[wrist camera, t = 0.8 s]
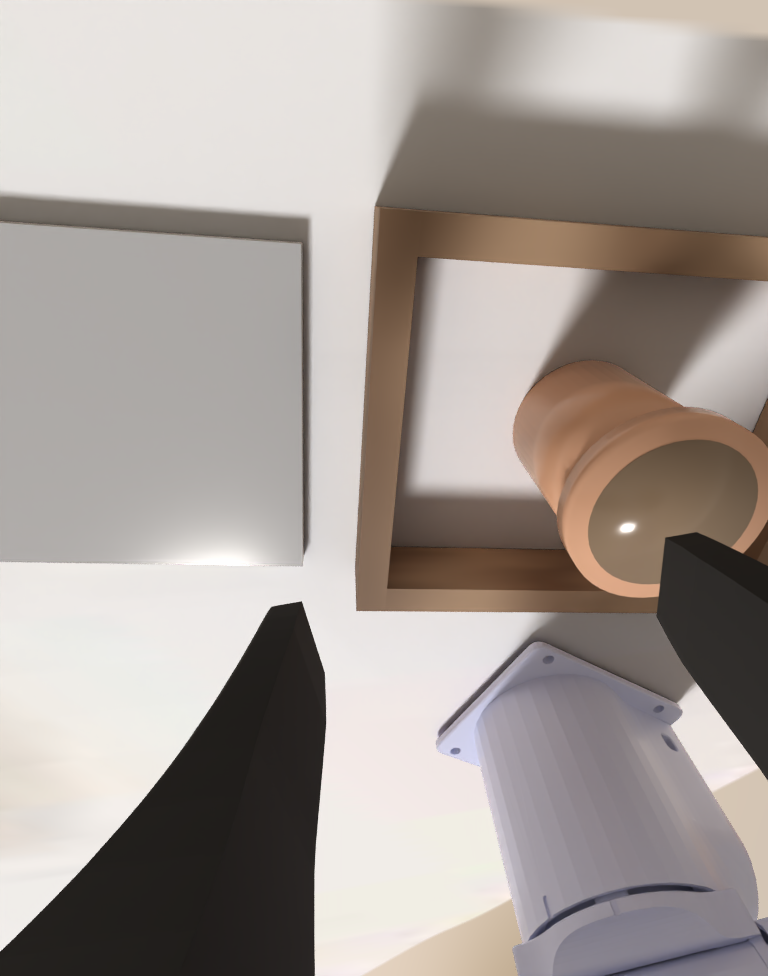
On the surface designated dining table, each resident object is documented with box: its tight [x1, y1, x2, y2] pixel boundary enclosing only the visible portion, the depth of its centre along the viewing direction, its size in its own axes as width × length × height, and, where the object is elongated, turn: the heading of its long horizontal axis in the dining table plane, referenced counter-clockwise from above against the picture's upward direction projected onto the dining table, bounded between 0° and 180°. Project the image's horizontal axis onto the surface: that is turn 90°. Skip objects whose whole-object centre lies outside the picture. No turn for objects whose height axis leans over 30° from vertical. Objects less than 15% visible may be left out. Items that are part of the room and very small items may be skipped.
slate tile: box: [0, 221, 304, 566], centre depth 17 cm, size 11×11×1 cm
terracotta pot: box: [513, 360, 768, 598], centre depth 16 cm, size 5×5×6 cm
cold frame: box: [355, 206, 768, 613], centre depth 17 cm, size 15×12×2 cm
